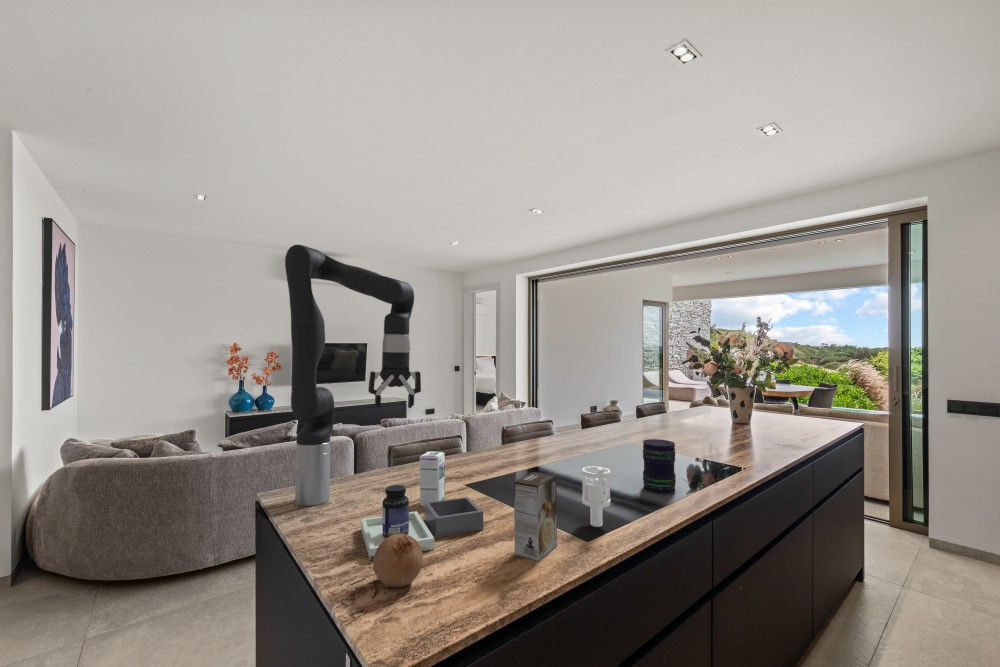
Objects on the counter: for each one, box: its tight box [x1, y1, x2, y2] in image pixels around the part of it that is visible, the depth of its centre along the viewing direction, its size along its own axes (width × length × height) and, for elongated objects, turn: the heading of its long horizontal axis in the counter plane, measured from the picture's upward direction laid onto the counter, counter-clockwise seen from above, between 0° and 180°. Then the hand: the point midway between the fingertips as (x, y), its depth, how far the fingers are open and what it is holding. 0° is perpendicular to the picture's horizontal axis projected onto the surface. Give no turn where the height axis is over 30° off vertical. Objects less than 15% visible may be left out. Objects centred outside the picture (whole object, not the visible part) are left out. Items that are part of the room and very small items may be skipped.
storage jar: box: [642, 438, 677, 495], centre depth 144 cm, size 10×10×15 cm
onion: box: [372, 534, 424, 588], centre depth 88 cm, size 10×9×10 cm
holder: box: [423, 496, 484, 538], centre depth 116 cm, size 12×12×4 cm
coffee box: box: [513, 472, 558, 562], centre depth 102 cm, size 9×6×16 cm
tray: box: [360, 511, 435, 562], centre depth 107 cm, size 14×18×2 cm
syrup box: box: [419, 450, 446, 507], centre depth 131 cm, size 6×6×14 cm
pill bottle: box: [382, 484, 410, 538], centre depth 107 cm, size 6×6×11 cm
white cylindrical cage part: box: [581, 465, 611, 528], centre depth 116 cm, size 7×7×15 cm
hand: (394, 408), depth 127 cm, fingers open, 8 cm apart
